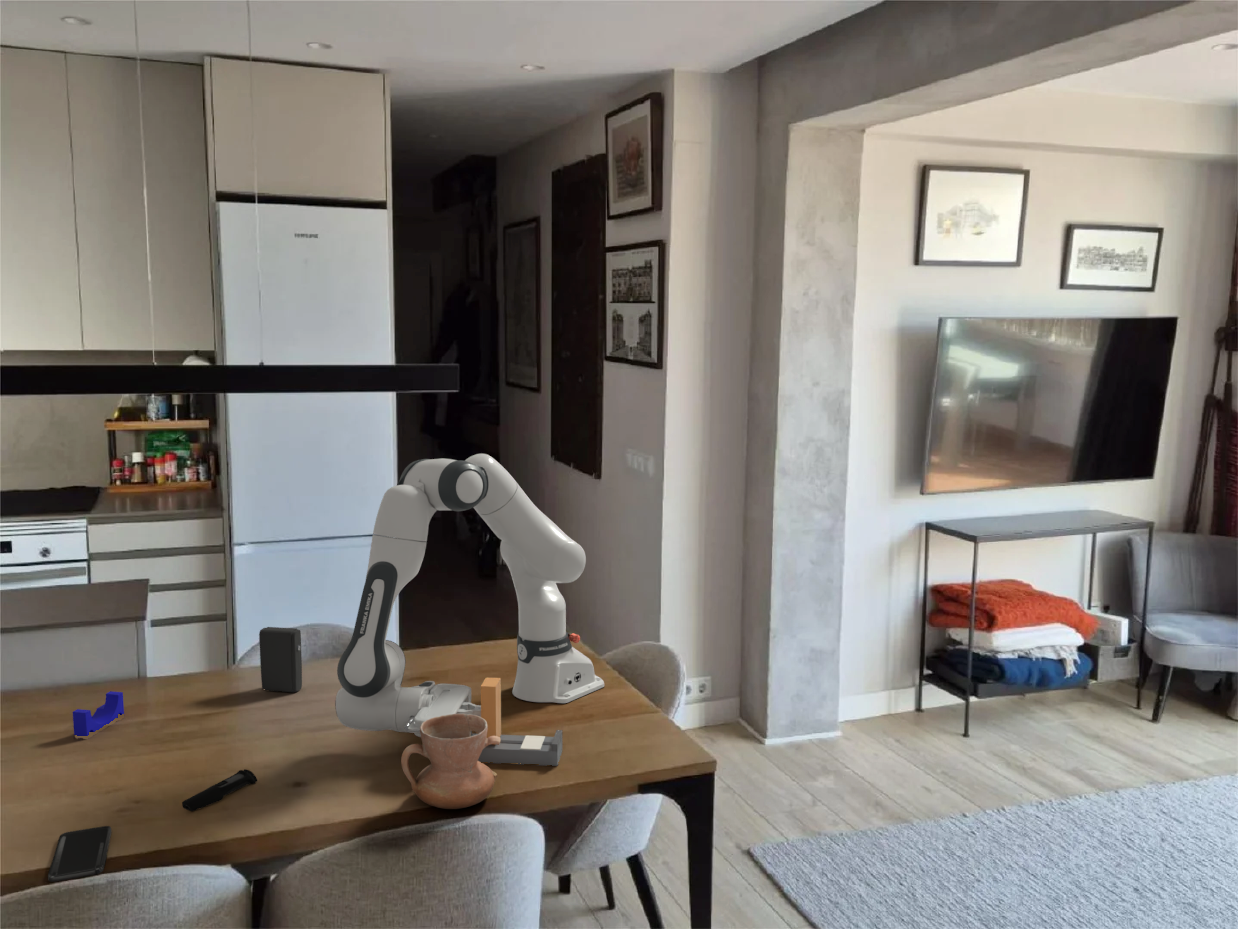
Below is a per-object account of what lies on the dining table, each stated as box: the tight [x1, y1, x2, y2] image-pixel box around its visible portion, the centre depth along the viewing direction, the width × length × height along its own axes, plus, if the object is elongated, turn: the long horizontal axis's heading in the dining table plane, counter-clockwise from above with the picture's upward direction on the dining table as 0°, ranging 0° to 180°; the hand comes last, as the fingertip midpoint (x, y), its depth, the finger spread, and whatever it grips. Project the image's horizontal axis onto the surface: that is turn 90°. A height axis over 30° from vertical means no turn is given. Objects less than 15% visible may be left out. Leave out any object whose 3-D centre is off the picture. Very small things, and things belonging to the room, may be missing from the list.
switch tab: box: [480, 677, 502, 738], centre depth 203 cm, size 3×5×12 cm, turn 175°
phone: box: [47, 825, 112, 883], centre depth 165 cm, size 8×1×15 cm
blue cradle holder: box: [72, 691, 125, 736], centre depth 216 cm, size 12×4×6 cm, turn 171°
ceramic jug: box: [400, 714, 501, 810], centre depth 184 cm, size 18×14×14 cm
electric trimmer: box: [181, 769, 258, 812], centre depth 185 cm, size 4×16×3 cm, turn 153°
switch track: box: [471, 729, 563, 767], centre depth 203 cm, size 20×7×4 cm, turn 85°
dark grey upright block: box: [258, 626, 303, 693], centre depth 238 cm, size 9×4×15 cm, turn 82°
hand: (483, 712), depth 203 cm, fingers closed, pressing on switch tab
